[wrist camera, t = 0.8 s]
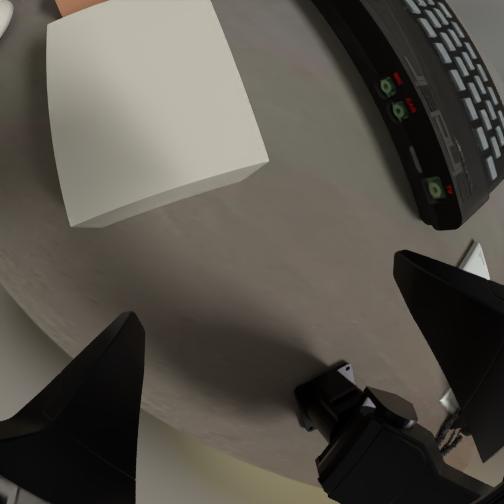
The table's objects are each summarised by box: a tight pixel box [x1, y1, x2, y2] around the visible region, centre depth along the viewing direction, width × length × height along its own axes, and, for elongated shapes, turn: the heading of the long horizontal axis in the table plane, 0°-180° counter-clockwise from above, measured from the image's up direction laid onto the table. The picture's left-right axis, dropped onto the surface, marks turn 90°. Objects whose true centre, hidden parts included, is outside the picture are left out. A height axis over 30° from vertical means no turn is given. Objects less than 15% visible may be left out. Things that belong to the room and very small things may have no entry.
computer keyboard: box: [312, 0, 504, 231], centre depth 25 cm, size 45×28×7 cm, turn 25°
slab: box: [46, 0, 269, 228], centre depth 18 cm, size 16×12×8 cm
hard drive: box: [459, 242, 490, 280], centre depth 32 cm, size 2×8×12 cm
